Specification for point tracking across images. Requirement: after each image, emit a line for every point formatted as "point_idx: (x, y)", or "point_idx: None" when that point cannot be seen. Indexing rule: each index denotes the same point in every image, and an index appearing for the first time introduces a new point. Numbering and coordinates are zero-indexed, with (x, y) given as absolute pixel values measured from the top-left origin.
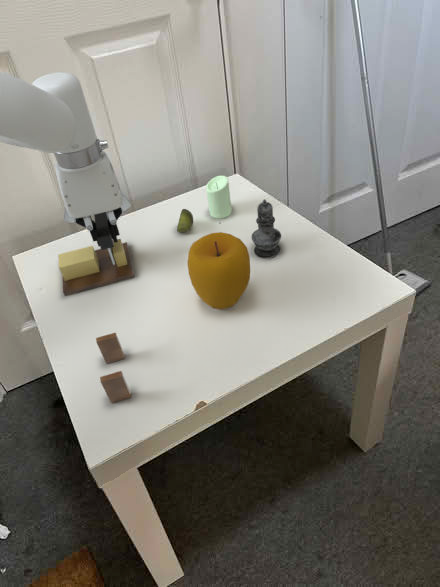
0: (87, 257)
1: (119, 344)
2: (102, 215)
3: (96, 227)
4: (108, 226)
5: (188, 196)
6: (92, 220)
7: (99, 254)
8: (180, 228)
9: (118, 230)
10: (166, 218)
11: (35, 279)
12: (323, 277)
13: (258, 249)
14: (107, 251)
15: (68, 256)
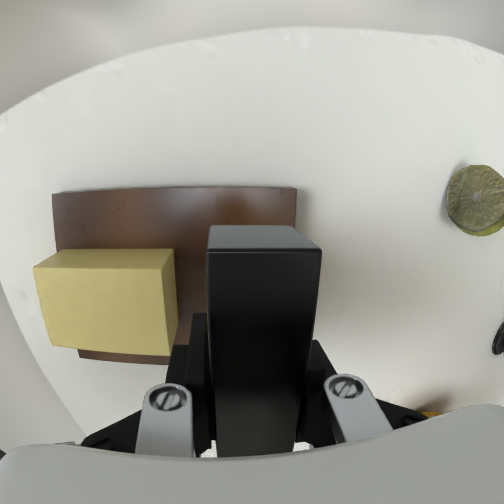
0: (142, 339)
1: None
2: (277, 362)
3: (221, 456)
4: None
5: (478, 54)
6: (198, 419)
7: (181, 224)
8: (463, 231)
9: (316, 344)
10: (430, 105)
11: (3, 246)
12: (498, 395)
13: (502, 336)
14: (213, 216)
15: (68, 299)
